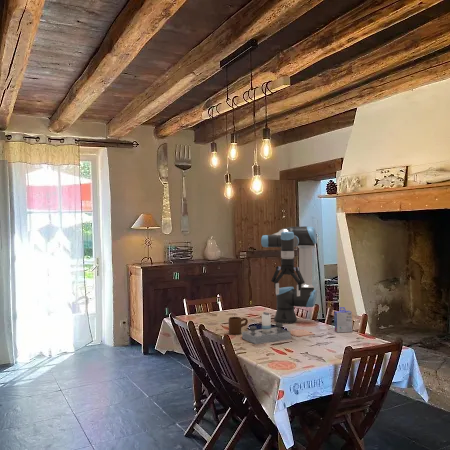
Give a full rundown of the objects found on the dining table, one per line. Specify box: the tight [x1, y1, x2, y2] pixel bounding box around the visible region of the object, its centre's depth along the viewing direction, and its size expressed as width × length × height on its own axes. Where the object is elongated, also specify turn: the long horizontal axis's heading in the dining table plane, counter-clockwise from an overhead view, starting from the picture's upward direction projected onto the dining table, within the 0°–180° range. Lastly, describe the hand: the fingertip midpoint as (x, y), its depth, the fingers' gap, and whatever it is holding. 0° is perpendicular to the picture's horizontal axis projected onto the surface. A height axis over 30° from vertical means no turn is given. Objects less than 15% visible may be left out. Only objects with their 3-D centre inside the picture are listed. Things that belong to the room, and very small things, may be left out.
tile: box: [290, 329, 315, 338], centre depth 270 cm, size 12×12×1 cm
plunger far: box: [275, 322, 284, 331], centre depth 262 cm, size 4×4×5 cm
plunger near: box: [248, 325, 258, 335], centre depth 254 cm, size 4×4×5 cm
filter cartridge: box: [261, 311, 272, 334], centre depth 258 cm, size 5×5×15 cm
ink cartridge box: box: [333, 306, 353, 333], centre depth 275 cm, size 10×6×14 cm, turn 97°
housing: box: [241, 326, 292, 345], centre depth 258 cm, size 14×24×4 cm, turn 118°
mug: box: [228, 316, 249, 336], centre depth 273 cm, size 12×8×9 cm, turn 104°
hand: (287, 295), depth 259 cm, fingers open, 13 cm apart
